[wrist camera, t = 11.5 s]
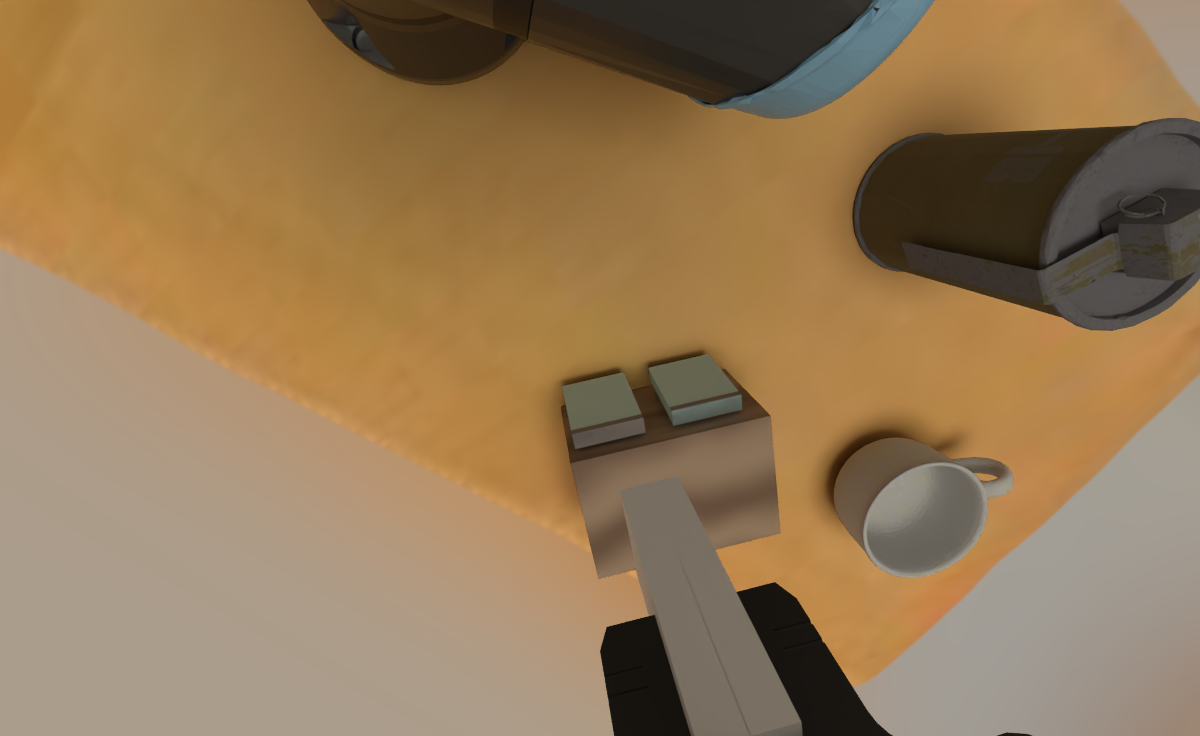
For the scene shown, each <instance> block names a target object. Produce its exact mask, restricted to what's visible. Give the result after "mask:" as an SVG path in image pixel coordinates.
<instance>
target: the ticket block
mask: <svg viewBox="0 0 1200 736" xmlns="http://www.w3.org/2000/svg"><path fill="white" fill-rule="evenodd" d="M722 371H723V372H724V374H725V375H726V376H727V377H728V379H729V380H730V381H731V382H732V384H733V385H734V386H735V387H736V389H737V390H738V391H739V392H740V393H741V394H742V408H743V410H738V411H734V412H730V413H726V414H722V415H717V416H713V417H709V418H705V419H701V420H696V421H692V422H688V423H684V424H679V425H675V426H673V424H672V422H671V420H670V418H669V416H668V414H667V412H666V410H665V408H664V406H663V404H662V403H661V401H660V399H659V397H658V395H657V393H656V391H655V389H654V387H653V386H649V387H644V388H640V389H636V390H632V393H633V395H634V397H635V400H636V402H637V404H638V407H639V409H640V412H641V414H642V416H643V419H644V425H645V431H646V433H642V434H637V435H633V436H629V437H625V438H620V439H616V440H612V441H608V442H604V443H599V444H595V445H591V446H587V447H583V448H578V449H575V446H574V442H573V438H572V434H571V428H570V423H569V419H568V414H567V409H566V406H562V407H561V411H562V416H563V422H564V428H565V434H566V440H567V446H568V452H569V458H570V463H571V468H572V472H573V476H574V480H575V484H576V488H577V492H578V496H579V500H580V505H581V509H582V513H583V517H584V521H585V525H586V529H587V533H588V537H589V542H590V546H591V550H592V554H593V558H594V562H595V566H596V570H597V574H598V579H601V578H605V577H609V576H612V575H616V574H620V573H624V572H628V571H632V570H636V566H635V561H634V557H633V552H632V547H631V542H630V538H629V533H628V528H627V523H626V518H625V514H624V509H623V504H622V499H621V495H620V490H623V489H627V488H631V487H635V486H639V485H643V484H647V483H652V482H656V481H660V480H664V479H668V478H672V477H676V476H678V477H679V479H680V481H681V483H682V485H683V487H684V489H685V491H686V493H687V495H688V497H689V499H690V501H691V503H692V505H693V507H694V509H695V511H696V513H697V515H698V517H699V519H700V521H701V523H702V525H703V527H704V529H705V531H706V533H707V535H708V537H709V539H710V541H711V543H712V545H713V547H714V549H715V550H716V549H720V548H724V547H728V546H732V545H736V544H740V543H744V542H748V541H752V540H756V539H760V538H764V537H767V536H771V535H775V534H779V533H781V532H780V521H779V509H778V497H777V485H776V474H775V462H774V450H773V438H772V427H771V416H770V415H769V414H768V413H767V412H766V411H765V410H764V409H763V407H762V406H761V405H760V404H759V403H758V402H757V401H756V400H755V399H754V398H753V397H752V396H751V395H750V394H749V393H748V392H747V391H746V390H745V389H744V388H743V387H742V386H741V385H740V384H739V383H738V382H737V381H736V380H735V379H734V378H733V377H732V376H731V375H730V374H729V373H728V372H727V371H726V370H725V369H722Z"/></svg>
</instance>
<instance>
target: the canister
mask: <svg viewBox="0 0 1200 736" xmlns="http://www.w3.org/2000/svg"><path fill="white" fill-rule="evenodd" d="M853 219H854V230H855V234H856V237H857V239H858V242H859V244H860V246H861V248H862V250H863V251H864V253H865V254H866V255H867V256H868V258H870V259H871V260H872V261H874V262H875V263H876V264H878V265H879V266H881V267H883V268H885V269H889V270H892V271H902V272H908V273H912V274H915V275H918V276H922V277H925V278H929V279H932V280H936V281H939V282H942V283H946V284H949V285H953V286H956V287H959V288H963V289H966V290H970V291H973V292H977V293H980V294H983V295H987V296H990V297H994V298H997V299H1001V300H1004V301H1007V302H1011V303H1014V304H1018V305H1021V306H1024V307H1028V308H1031V309H1035V310H1038V311H1042V312H1045V313H1048V314H1052V315H1055V316H1059V317H1062V318H1064V319H1066V320H1067V321H1069V322H1071V323H1073V324H1074V325H1076V326H1079V327H1082V328H1086V329H1089V330H1107V331H1112V330H1117V329H1122V328H1127V327H1131V326H1134V325H1137V324H1139V323H1141V322H1143V321H1145V320H1148V319H1150V318H1152V317H1154V316H1156V315H1158V314H1160V313H1161V312H1163V311H1165V310H1166V309H1168V308H1170V307H1171V306H1172V305H1173V304H1174V303H1175V302H1176V301H1178V300H1179V299H1180V298H1181V297H1182V296H1183V295H1184V294H1185V293H1186V292H1187V291H1189V290H1190V289H1191V288H1192V287H1193V286H1194V285H1195V284H1196V283H1197V281H1198V280H1199V279H1200V122H1197V121H1194V120H1190V119H1186V118H1167V119H1159V120H1154V121H1149V122H1143V123H1141V124H1139V125H1137V126H1119V127H1099V128H1078V129H1058V130H1037V131H1017V132H997V133H976V134H956V135H943V134H937V133H925V134H917V135H914V136H911V137H908V138H905V139H904V140H902V141H900V142H898V143H896V144H894V145H892V146H891V147H890V148H888V149H887V150H886V151H885V152H884V153H882V154H881V155H880V156H879V157H878V158H877V160H876V161H875V162H874V163H873V165H872V166H871V167H870V169H869V170H868V172H867V173H866V175H865V177H864V179H863V181H862V183H861V185H860V187H859V189H858V193H857V196H856V199H855V204H854V213H853Z"/></svg>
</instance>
